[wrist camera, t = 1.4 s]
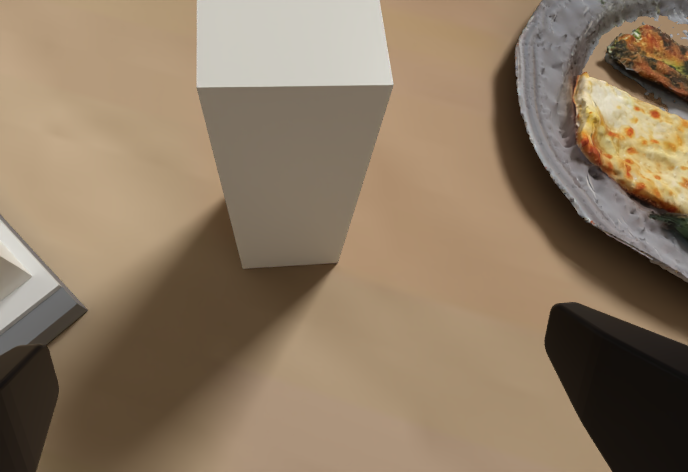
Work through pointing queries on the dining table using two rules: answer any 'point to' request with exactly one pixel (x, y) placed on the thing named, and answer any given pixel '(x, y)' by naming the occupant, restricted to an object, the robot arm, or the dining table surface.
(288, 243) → the block
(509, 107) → the dining table surface
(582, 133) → the food plate
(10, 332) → the rail board
